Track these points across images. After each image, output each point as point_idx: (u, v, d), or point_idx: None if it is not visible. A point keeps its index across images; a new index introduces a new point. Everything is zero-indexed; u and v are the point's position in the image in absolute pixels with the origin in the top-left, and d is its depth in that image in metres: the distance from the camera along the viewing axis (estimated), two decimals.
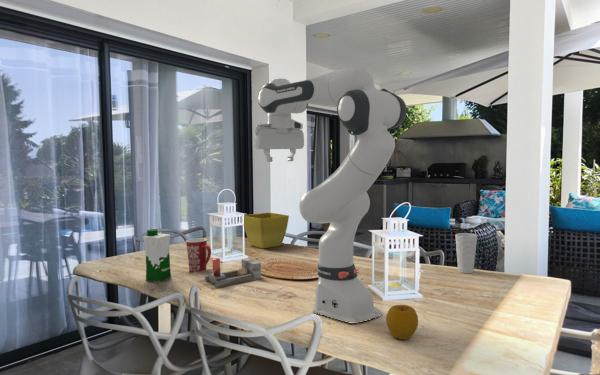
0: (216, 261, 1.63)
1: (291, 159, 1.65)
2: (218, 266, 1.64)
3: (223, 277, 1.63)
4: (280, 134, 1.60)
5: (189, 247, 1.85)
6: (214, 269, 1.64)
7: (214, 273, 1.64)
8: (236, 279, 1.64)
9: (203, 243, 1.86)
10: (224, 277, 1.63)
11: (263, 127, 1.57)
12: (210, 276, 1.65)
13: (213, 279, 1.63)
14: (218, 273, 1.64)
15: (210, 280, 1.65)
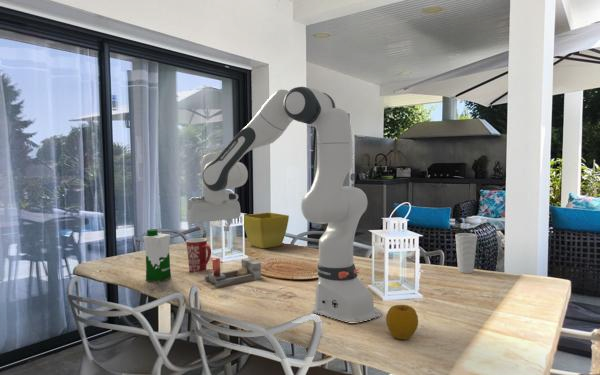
0: (216, 261, 1.63)
1: (227, 229, 1.66)
2: (218, 266, 1.64)
3: (223, 277, 1.63)
4: (214, 206, 1.61)
5: (189, 247, 1.85)
6: (214, 269, 1.64)
7: (214, 273, 1.64)
8: (236, 279, 1.64)
9: (203, 243, 1.86)
10: (224, 277, 1.63)
11: (196, 201, 1.58)
12: (210, 276, 1.65)
13: (213, 279, 1.63)
14: (218, 273, 1.64)
15: (210, 280, 1.65)
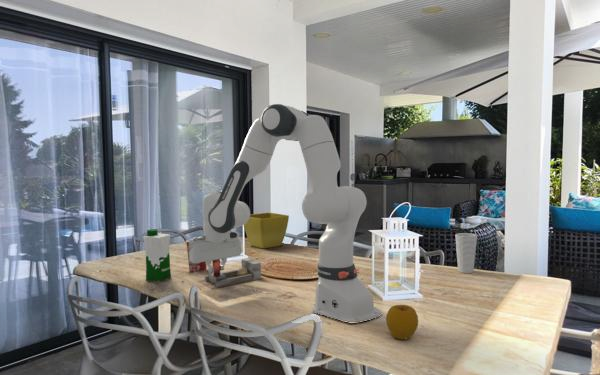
0: (216, 261, 1.63)
1: (222, 268, 1.65)
2: (218, 266, 1.64)
3: (223, 277, 1.63)
4: (215, 245, 1.62)
5: None
6: (214, 269, 1.64)
7: (214, 273, 1.64)
8: (236, 279, 1.64)
9: None
10: (224, 277, 1.63)
11: (197, 241, 1.60)
12: (210, 276, 1.65)
13: (213, 279, 1.63)
14: (218, 273, 1.64)
15: (210, 280, 1.65)
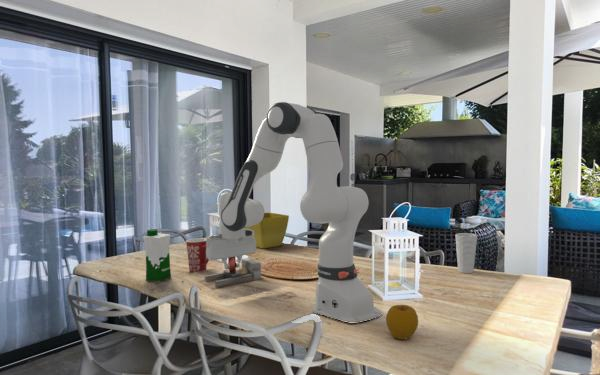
0: (232, 258, 1.67)
1: (237, 265, 1.69)
2: (234, 263, 1.68)
3: (239, 274, 1.67)
4: (231, 243, 1.66)
5: (189, 247, 1.85)
6: (230, 266, 1.68)
7: (230, 270, 1.68)
8: (236, 279, 1.64)
9: (203, 243, 1.86)
10: (240, 274, 1.67)
11: (214, 238, 1.63)
12: (226, 273, 1.69)
13: (229, 276, 1.66)
14: (234, 270, 1.68)
15: (225, 277, 1.69)
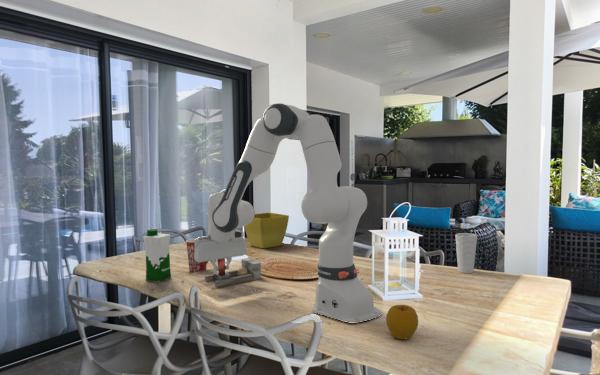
0: (221, 260, 1.65)
1: (226, 267, 1.67)
2: (223, 265, 1.65)
3: (228, 276, 1.64)
4: (220, 245, 1.64)
5: (189, 247, 1.85)
6: (219, 268, 1.65)
7: (219, 272, 1.65)
8: (236, 279, 1.64)
9: None
10: (229, 276, 1.64)
11: (202, 240, 1.61)
12: (215, 275, 1.66)
13: (219, 278, 1.64)
14: (223, 272, 1.65)
15: (215, 279, 1.67)
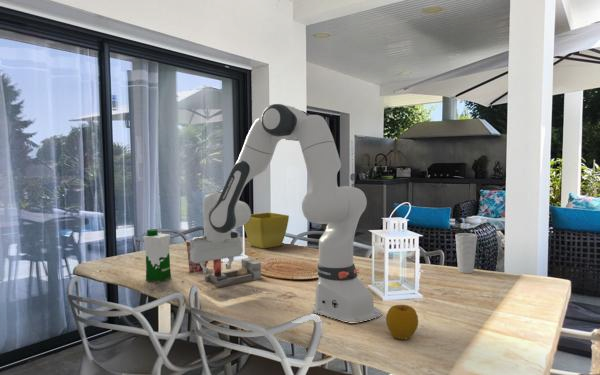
0: (217, 261, 1.64)
1: (228, 267, 1.67)
2: (219, 266, 1.64)
3: (224, 277, 1.63)
4: (216, 245, 1.63)
5: (189, 247, 1.85)
6: (215, 269, 1.64)
7: (215, 273, 1.64)
8: (236, 279, 1.64)
9: None
10: (225, 277, 1.63)
11: (198, 240, 1.60)
12: (211, 276, 1.65)
13: (214, 279, 1.63)
14: (219, 273, 1.64)
15: (211, 280, 1.66)
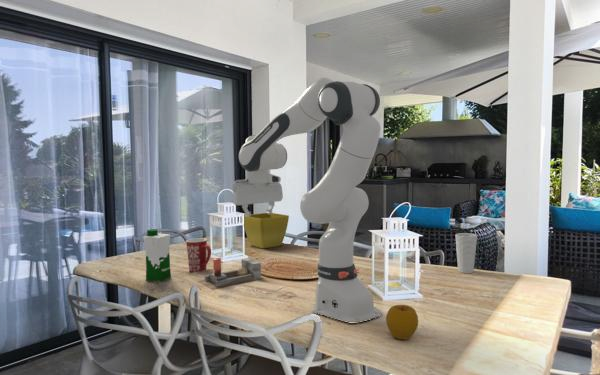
0: (217, 261, 1.64)
1: (270, 212, 1.66)
2: (219, 266, 1.64)
3: (224, 277, 1.63)
4: (258, 189, 1.62)
5: (189, 247, 1.85)
6: (215, 269, 1.64)
7: (215, 273, 1.64)
8: (236, 279, 1.64)
9: (203, 243, 1.86)
10: (225, 277, 1.63)
11: (241, 183, 1.59)
12: (211, 276, 1.65)
13: (214, 279, 1.63)
14: (219, 273, 1.64)
15: (211, 280, 1.66)
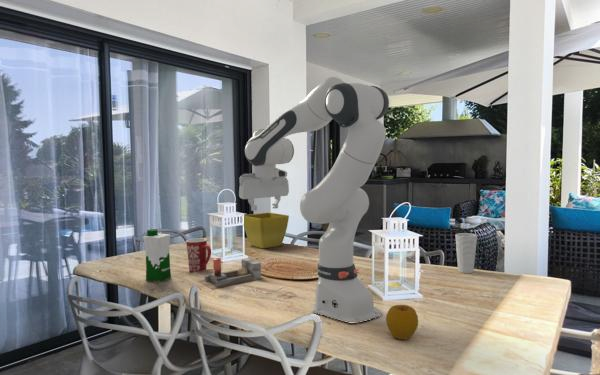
0: (217, 261, 1.64)
1: (276, 206, 1.66)
2: (219, 266, 1.64)
3: (224, 277, 1.63)
4: (264, 183, 1.62)
5: (189, 247, 1.85)
6: (215, 269, 1.64)
7: (215, 273, 1.64)
8: (236, 279, 1.64)
9: (203, 243, 1.86)
10: (225, 277, 1.63)
11: (247, 177, 1.59)
12: (211, 276, 1.65)
13: (214, 279, 1.63)
14: (219, 273, 1.64)
15: (211, 280, 1.66)
